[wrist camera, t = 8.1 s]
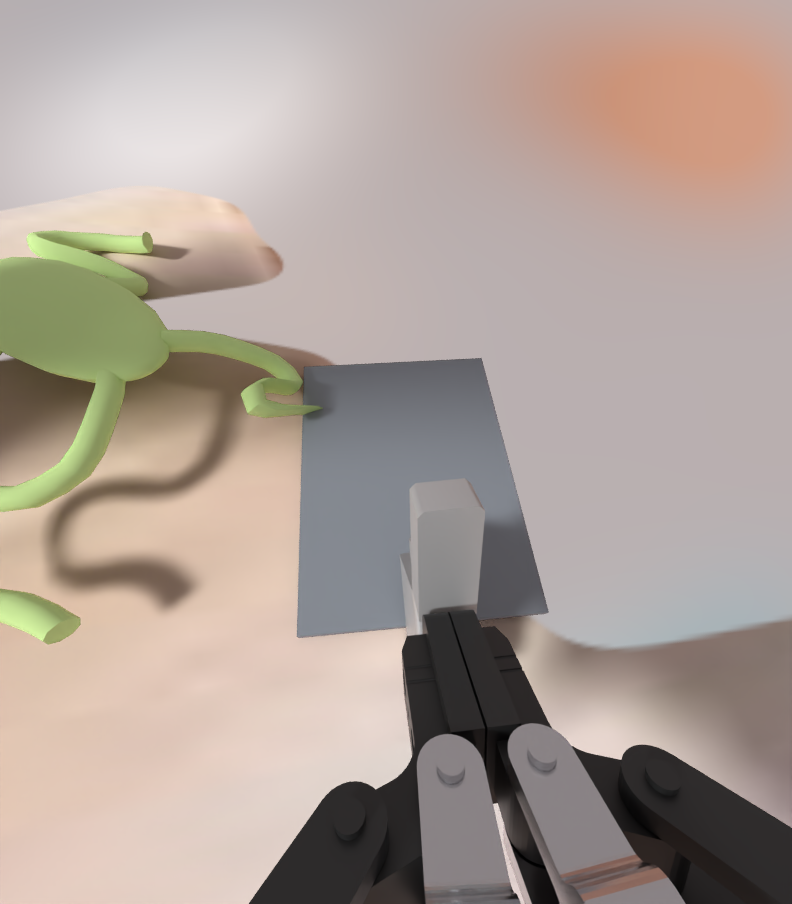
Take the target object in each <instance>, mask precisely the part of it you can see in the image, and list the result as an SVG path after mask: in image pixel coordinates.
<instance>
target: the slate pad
mask: <svg viewBox="0 0 792 904" xmlns="http://www.w3.org/2000/svg"><path fill="white" fill-rule="evenodd" d="M303 405H311V406H319V407H322V408H323V409H320V410H316V411H313V412H310V413H307V414H304V415H303V426H302V464H301V502H300V540H299V579H298V617H297V637H298V638H303V637H314V636H324V635H334V634H344V633H354V632H365V631H375V630H385V629H395V628H405V627H406V620H405V609H404V598H403V586H402V575H401V563H400V554H402V553H409V552H410V547H409V538H411V529H410V491H409V489H410V488H411V487H412V486H413V485H414V484H415V483H422V482H432V481H442V480H452V479H462V478H465V479H466V480H467V481H469V482H470V483H471V485H472V487H473V489H474V491H475V493H476V494H477V496H478V498H479V500H480V502H481V504H482V506H483V508H484V510H485V520H484V531H483V543H482V555H481V567H480V578H479V590H478V602H477V613H476V616H477V618H478V620H487V619H497V618H507V617H518V616H528V615H538V614H545V613H548V608H547V604H546V600H545V597H544V593H543V589H542V586H541V582H540V578H539V574H538V570H537V566H536V563H535V559H534V555H533V551H532V548H531V544H530V540H529V536H528V533H527V529H526V525H525V521H524V517H523V513H522V510H521V506H520V502H519V498H518V494H517V491H516V488H515V483H514V480H513V476H512V472H511V468H510V464H509V460H508V457H507V453H506V449H505V446H504V441H503V438H502V435H501V430H500V426H499V423H498V419H497V415H496V411H495V407H494V404H493V400H492V396H491V392H490V389H489V385H488V381H487V377H486V373H485V370H484V366H483V362H482V359H481V358H478V359H477V358H476V359H456V360H436V361H417V362H394V363H375V364H354V365H333V366H313V367H304V387H303Z"/></svg>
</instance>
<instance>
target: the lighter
mask: <svg viewBox="0 0 792 904" xmlns="http://www.w3.org/2000/svg"><path fill="white" fill-rule="evenodd" d="M409 491H410V529H411V538H409V547H410V552H409V553H402V554H400V563H401V575H402V586H403V598H404V609H405V620H406V632H407V636H410V635H420V634H423V630H422V615H424V614H434V613H444V612H447V613H448V612H452V611H462V610H472V609H473V610H474V611H475V613H477V602H478V590H479V578H480V567H481V555H482V543H483V531H484V520H485V510H484V508H483V506H482V504H481V502H480V500H479V498H478V496H477V494H476V493H475V491H474V489H473V487H472V485H471V483H470V482H469V481H467V480H466V479H465V478H462V479H452V480H442V481H432V482H422V483H415V484H414V485H413V486H412V487H411V488H410V489H409Z"/></svg>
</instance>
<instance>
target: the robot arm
mask: <svg viewBox="0 0 792 904" xmlns="http://www.w3.org/2000/svg"><path fill="white" fill-rule="evenodd" d="M422 630H423V634H420V635H410V636H407V638H406V641H405V644H404V646H403V649H402V662H403V681H404V696H405V703H406V711H407V719H408V726H409V734H410V742H411V750H412V758H411V761H410V763H409V764H408V766H407V768H406V769H405V770H404V771H403V773H402V774H400V775H399V776H398V777H397V778H396V779H394V780H392V781H391V782H389V783H387V784H385V785H383V786H382V787H380V788H378V789H376V790H375V789H374V788H373V787H372V786H370V785H368V784H366V783H363V782H356V781H355V782H347V783H343V784H341V785H339V786H337V787H336V788H334V789H333V790H331V791H330V792H329V793H328V794H327V795H326V796H325V798H324V799H323V800H322V801H321V803H320V804H319V806H318V807H317V808H316V810H315V811H314V813H313V814H312V815H311V817H310V818H309V820H308V821H307V822H306V824H305V825H304V827H303V828H302V829H301V831H300V832H299V834H298V835H297V836H296V838H295V839H294V841H293V842H292V844H291V845H290V846H289V848H288V849H287V851H286V852H285V853H284V855H283V856H282V858H281V859H280V860H279V862H278V863H277V865H276V866H275V867H274V869H273V870H272V872H271V873H270V874H269V876H268V877H267V879H266V880H265V882H264V883H263V884H262V886H261V887H260V889H259V890H258V891H257V893H256V894H255V896H254V897H253V898H252V900H251V901H250V903H249V904H520V901H519V898H518V896H517V894H516V893H514V892H513V890H512V887H511V884H510V880H509V876H508V871H507V867H506V862H505V858H504V853H503V848H502V844H501V839H500V835H499V830H498V825H497V821H496V816H495V812H494V807H493V804H494V803H498V805H499V808H500V811H501V815H502V818H503V822H504V830H503V838H504V844H505V848H506V851H507V854H508V857H509V860H510V863H511V866H512V868H513V871H514V874H515V877H516V880H517V883H518V886H519V889H520V891H521V894H522V897H523V900H524V903H525V904H792V828H791V827H789V826H788V825H786V824H784V823H783V822H781V821H780V820H778V819H776V818H775V817H773V816H771V815H770V814H768V813H767V812H765V811H763V810H762V809H760V808H758V807H757V806H755V805H753V804H752V803H750V802H749V801H747V800H745V799H744V798H742V797H740V796H739V795H737V794H736V793H734V792H732V791H731V790H729V789H727V788H726V787H724V786H722V785H721V784H719V783H718V782H716V781H714V780H713V779H711V778H709V777H708V776H706V775H705V774H703V773H701V772H700V771H698V770H696V769H695V768H693V767H692V766H690V765H688V764H687V763H685V762H683V761H682V760H680V759H678V758H677V757H675V756H674V755H672V754H670V753H668V752H666V751H665V750H662V749H660V748H657V747H654V746H649V745H636V746H633V747H630V748H629V749H628V750H626V751H625V753H624V754H623V757H622V760H618V759H613V758H609V757H604V756H599V755H594V754H590V753H586V752H583V751H581V750H578V749H576V748H575V747H573V746H571V745H570V744H569V742H568V741H567V740H566V739H565V738H564V737H563V736H562V735H561V734H560V733H558V732H557V731H555V730H554V729H552V727H551V726H550V724H549V722H548V720H547V718H546V716H545V714H544V712H543V710H542V708H541V706H540V704H539V702H538V700H537V698H536V696H535V694H534V692H533V690H532V688H531V685H530V683H529V681H528V679H527V677H526V675H525V673H524V671H522V667H521V665H520V663H519V661H518V659H517V658H516V655H515V653H514V650H513V648H512V646H511V644H510V642H509V640H508V639H507V638H506V637H505V636H504V635H503V634H502V633H501V632H500V631H499V630H498V629H497V628H496V627H494V626H493V627H484V628H481V625H480V623H479V620H478V618H477V616H476V613H475V611H474V610H473V609H472V610H462V611H452V612H448V613H447V612H444V613H434V614H424V615H422Z"/></svg>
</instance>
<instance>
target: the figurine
mask: <svg viewBox="0 0 792 904" xmlns="http://www.w3.org/2000/svg"><path fill="white" fill-rule="evenodd" d="M27 243H28V246H29V248H30V249H31V251H32V252H34V253H35V254H36V255H37V256H39V257H42V258H45V259H40V258H30V257H10V258H6V259H1V260H0V355H1V354H2V352H4V353H5V354H7V355H9V356H11V357H14V358H16V359H18V360H21V361H23V362H25V363H27V364H30V365H32V366H34V367H36V368H39V369H41V370H44V371H47V372H50V373H53V374H56V375H59V376H63V377H68V378H73V379H78V380H83V381H88V382H92V383H95V389H94V392H93V394H92V397H91V400H90V403H89V405H88V408H87V411H86V413H85V416H84V419H83V421H82V424H81V426H80V428H79V431H78V433H77V435H76V438H75V440H74V442H73V444H72V446H71V447H70V448H69V450H68V451H67V453H66V454H65V455H64V457H63V458H62V460H61V461H60V462H59V464H57V465H56V466H54V467H53V468H51V469H49V470H48V471H46V472H45V473H43V474H42V475H40V476H39V477H36V478H34V479H32V480H29V481H27V482H24V483H22V484H19V485H17V486H0V512H5V511H13V510H21V509H28V508H36V507H40V506H42V505H44V504H46V503H48V502H50V501H52V500H54V499H56V498H58V497H60V496H62V495H64V494H66V493H68V492H69V491H70V490H72V489H73V488H74V487H76V486H77V485H78V484H80V483H81V482H82V481H84V480H85V479H86V478H88V477H89V476H90V475H91V474H92V472H93V471H94V469H95V468H96V466H97V465H98V463H99V462H100V460H101V458H102V457H103V455H104V454H105V451H106V449H107V446H108V444H109V441H110V438H111V436H112V433H113V431H114V427H115V424H116V421H117V418H118V415H119V412H120V409H121V406H122V402H123V399H124V395H125V386H126V381H133V380H138V379H142V378H144V377H146V376H148V375H150V374H152V373H154V372H155V371H156V370H158V369H159V368H160V367H161V366H163V364H164V363H165V362H166V361H167V359H168V358H169V352H201V353H209V354H216V355H220V356H224V357H228V358H232V359H235V360H239V361H242V362H246V363H249V364H251V365H254V366H257V367H260V368H262V369H265V370H266V371H267V372H269V373H270V374H272V375H273V376H275V377H276V378H262V379H260V380H258V381H256V382H255V383H253V384H252V385H250V386H248V387H247V388H245V389H244V390H243V392H242V393H241V396H242V399H243V402H244V405H245V408H246V411H247V413H248V414H249V415H254V416H258V417H263V418H268V417H281V416H290V415H304V414H307V413H310V412H313V411H316V410H320V409H323V408H322V407H319V406H311V405H290V404H281V403H277V402H274V401H270V400H267V399H266V395H265V393H275V394H280V395H293V394H294V393H295V392H297V391H298V390H299V389H300V387H301V386H302V383H303V380H302V379H301V377H300V376H299V374H298V373H297V371H296V370H295V368H294V367H293V366H291V365H290V364H289V363H288V362H286V361H285V360H284V359H283V358H281V357H280V356H279V355H276V354H274V353H272V352H270V351H268V350H266V349H264V348H261V347H259V346H256V345H253V344H250V343H248V342H245V341H242V340H239V339H235V338H232V337H229V336H226V335H221V334H216V333H210V332H205V331H191V330H167V328H166V327H165V325H164V324H163V322H162V321H161V319H160V318H159V316H158V315H157V313H156V312H155V310H153V309H152V308H151V307H150V306H148V305H147V304H146V303H145V302H143V301H142V300H141V299H140V298H138V296H143V295H144V294H146V293H147V290H148V282H147V281H146V279H145V278H144V277H142V276H140V275H138V274H136V273H135V272H133V271H131V270H129V269H127V268H125V267H123V266H121V265H119V264H117V263H115V262H113V261H111V260H109V259H106V258H104V257H102V256H99V255H96V254H93V253H90V252H87V251H84V250H88V251H110V252H118V253H151V252H152V249H153V239H152V237H151V235H150V234H149V233H148V232H145V233H143V236H121V235H110V234H100V233H80V232H66V231H40V232H33V233H30V234H28V237H27ZM97 273H98V274H97ZM99 274H101V275H103V276H105V277H103V276H101V275H99ZM0 623H4V624H7V625H9V626H12V627H14V628H17V629H19V630H22V631H24V632H27V633H29V634H31V635H32V636H34V637H36V638H38V639H39V640H41V641H43V642H45V643H47V644H52V643H56V642H60V641H61V640H63V639H65V638H66V637H68V636H69V635H71V634H73V633H74V631H75V630H76V629H77V628H78V627H79V626H80V618H79V617H77V616H76V615H74V614H72V613H71V612H69V611H67V610H66V609H64V608H63V607H61V606H59V605H57V604H55V603H53V602H51V601H48V600H46V599H44V598H41V597H39V596H37V595H35V594H31V593H26V592H20V591H13V590H5V589H0Z"/></svg>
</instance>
